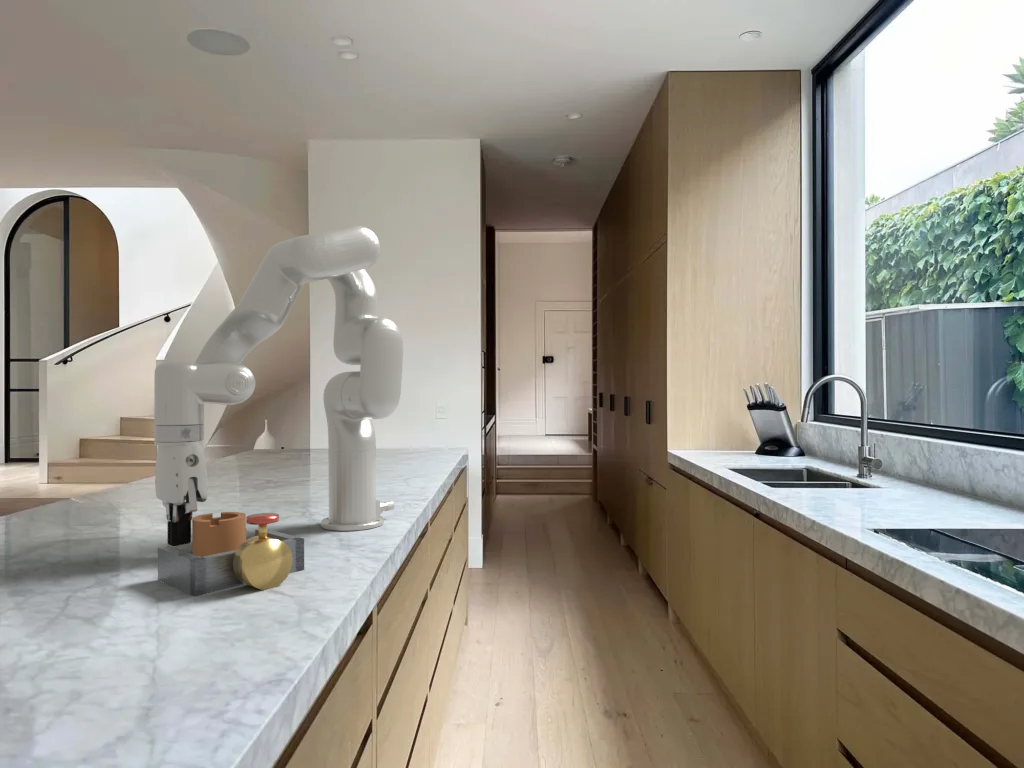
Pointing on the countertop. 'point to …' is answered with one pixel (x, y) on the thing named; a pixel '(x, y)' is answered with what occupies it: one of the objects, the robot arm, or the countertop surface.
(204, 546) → the bracket
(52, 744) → the countertop surface
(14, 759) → the countertop surface
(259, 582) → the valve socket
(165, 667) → the countertop surface
